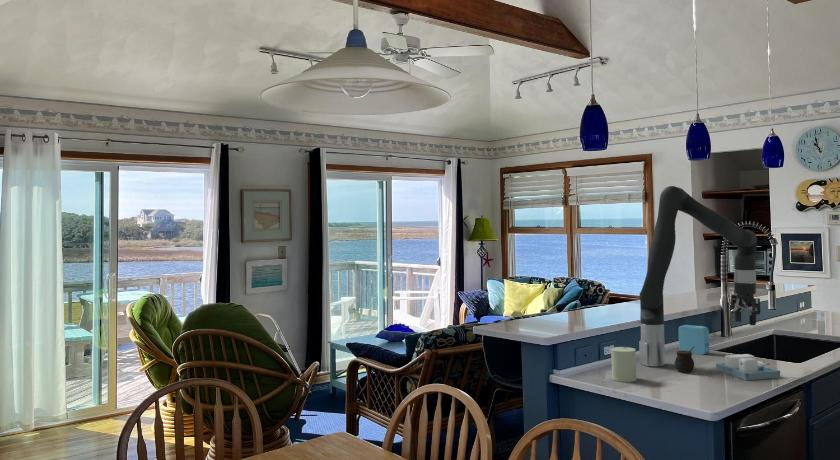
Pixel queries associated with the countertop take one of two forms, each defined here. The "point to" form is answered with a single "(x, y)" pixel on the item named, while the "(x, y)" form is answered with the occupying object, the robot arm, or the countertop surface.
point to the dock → (733, 369)
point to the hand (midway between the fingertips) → (745, 323)
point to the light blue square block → (694, 339)
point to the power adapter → (750, 365)
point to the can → (623, 364)
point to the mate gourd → (684, 361)
